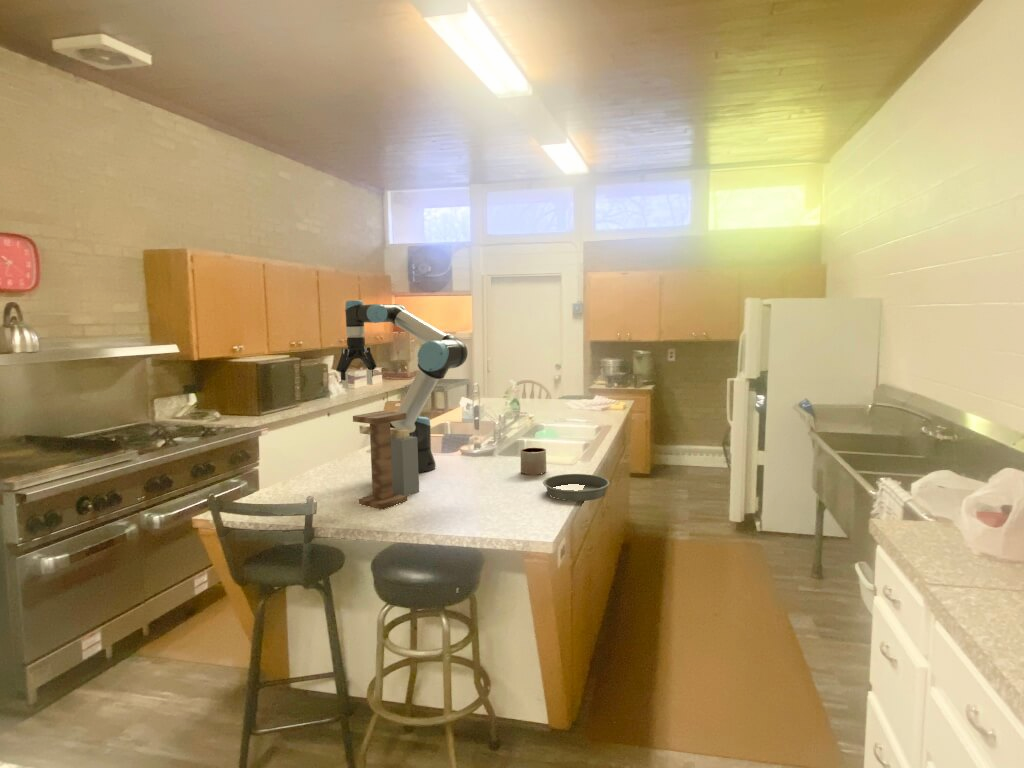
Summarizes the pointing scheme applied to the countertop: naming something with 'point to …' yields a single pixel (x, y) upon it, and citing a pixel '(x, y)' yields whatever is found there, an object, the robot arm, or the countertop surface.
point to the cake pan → (591, 490)
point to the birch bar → (394, 431)
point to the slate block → (404, 465)
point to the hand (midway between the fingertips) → (357, 386)
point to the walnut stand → (381, 459)
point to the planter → (533, 460)
